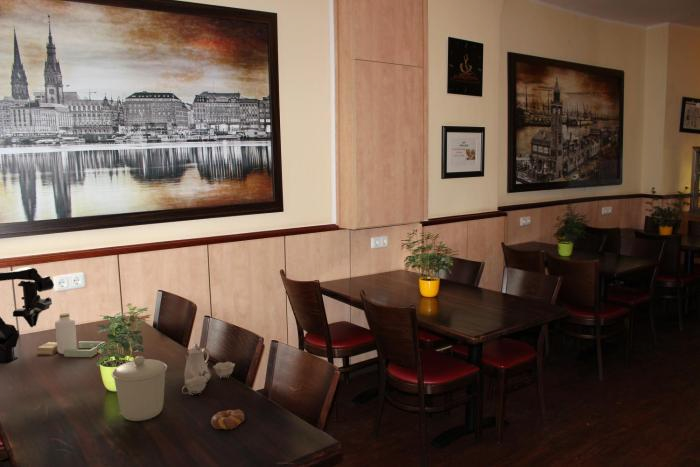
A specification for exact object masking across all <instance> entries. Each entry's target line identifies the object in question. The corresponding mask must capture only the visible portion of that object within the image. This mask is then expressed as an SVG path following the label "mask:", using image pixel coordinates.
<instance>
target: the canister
mask: <svg viewBox="0 0 700 467" xmlns="http://www.w3.org/2000/svg"><path fill="white" fill-rule="evenodd" d="M167 369H168V365H167V363H165V362H163V361H161V360H158V359H151V358H147V359H146V358H145V357H144V356H142V355H138V356H136V357H135V358H134V359H133V360H131V361H128V362H125V363H122V364H120V365H119V366H117V367H115V369H113V370H112V372H111V377H112V378H113V380H114V384H115V392H116V396H117V400H118V404H119V408H120V413H121V415H122V417H123V418H124V419H126V420H128V421H132V422H141V421H147V420H151V419H152V418H154V417H157V416H158V415H159V414H160V413H161V412H162V410H163V407H164V398H165V386H166V385H165V383H166V382H165V381H166V371H167Z"/></svg>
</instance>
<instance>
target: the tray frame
mask: <svg viewBox="0 0 700 467" xmlns="http://www.w3.org/2000/svg"><path fill="white" fill-rule="evenodd" d="M105 342H106V341H92V340H91V341H90V340H89V341H83V340H81V341H78V348H79V349H77V350H64V354H63V357H65V358H69V357H71V358H72V357H73V358H74V357H75V358H78V357H79V358H93V357H94V356H95V355H97V354H98V353H97V346H98V345H100V344H102V343H105ZM90 344H93V345H97V346H96V347H92V346H90Z"/></svg>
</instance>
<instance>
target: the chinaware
mask: <svg viewBox="0 0 700 467" xmlns="http://www.w3.org/2000/svg"><path fill="white" fill-rule="evenodd" d="M205 351H206V359H205V356H204V355H205V354H204V353H205ZM187 352H188V355H187V354H186V355H185V356H184V357H185V358H186V360H185V361H186V363H185V368H184V373H183V374H184V376H183V381H184V386H182V389H181V393H182V394H184V395H186V394H188V395H192V393H202V391H204V390H205V388H206V385H207V384H206V382H208V381H209V380H210V379H211V377H212V373H213V372H212V371H211V370H210V369H209V367H208V365H209V363H207V362H208V360H209V359H210V351H209V348H206V347H203V348H202V347H201V346H199V345H198V344H197V343H195V344H193V347H191V349H189V350H187ZM235 366H236V364H235V363H233V362H232V361H226V362H217V363H216V364H215V365H213V366H212V368H213V369H214V370H215V373H216V374H217V376H218V377H220V378H221V377H227V376H228V377H230V376H231V374H232V373H233V371H234V368H235ZM185 388H187V392H185V391H184V389H185Z"/></svg>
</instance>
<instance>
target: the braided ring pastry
mask: <svg viewBox="0 0 700 467" xmlns="http://www.w3.org/2000/svg"><path fill="white" fill-rule="evenodd" d="M243 421H245V414H244V412H243V410H241V409H235V410H233V409H228V410H226V411H225V410H221V411H218V412H217V413H216V414H214V415H213V416H212V417H211V419H210V424H211V426H212V427H213V428H214V429H215V430H218V429H219V431H220V429H224V430H228V429H231V430H234V429H233V428H235V429H236V428H238V427H239V424H240V423H241V422H243ZM243 423H244V422H243ZM241 424H242V423H241ZM241 424H240V425H241ZM237 426H238V427H237Z"/></svg>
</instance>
